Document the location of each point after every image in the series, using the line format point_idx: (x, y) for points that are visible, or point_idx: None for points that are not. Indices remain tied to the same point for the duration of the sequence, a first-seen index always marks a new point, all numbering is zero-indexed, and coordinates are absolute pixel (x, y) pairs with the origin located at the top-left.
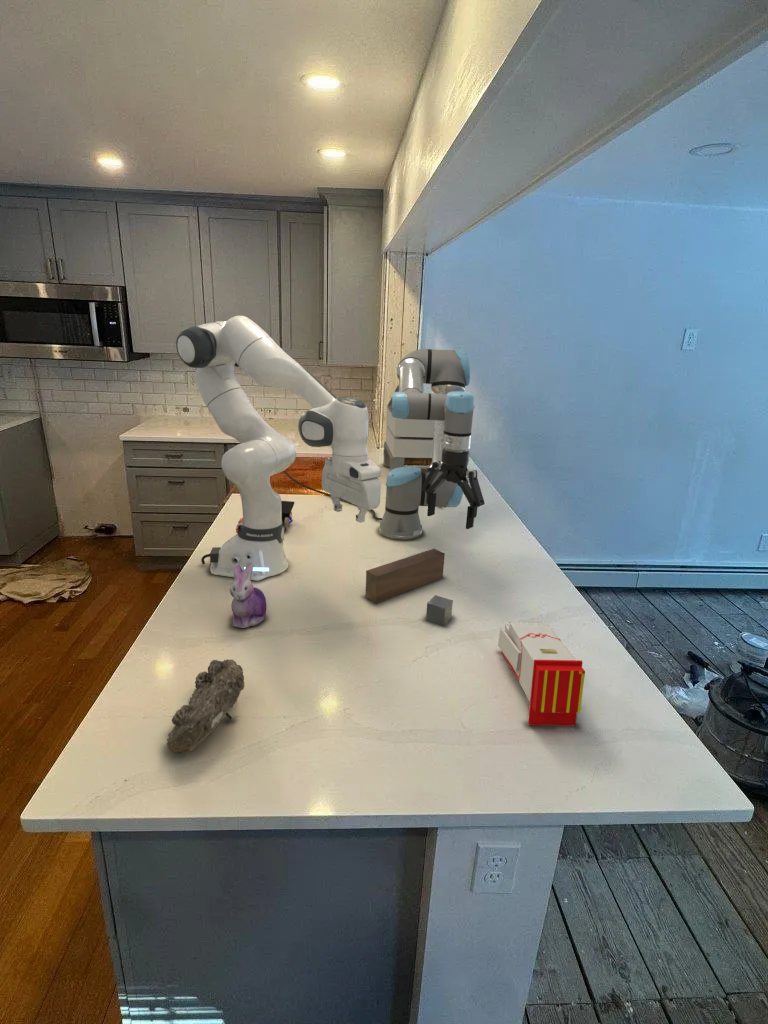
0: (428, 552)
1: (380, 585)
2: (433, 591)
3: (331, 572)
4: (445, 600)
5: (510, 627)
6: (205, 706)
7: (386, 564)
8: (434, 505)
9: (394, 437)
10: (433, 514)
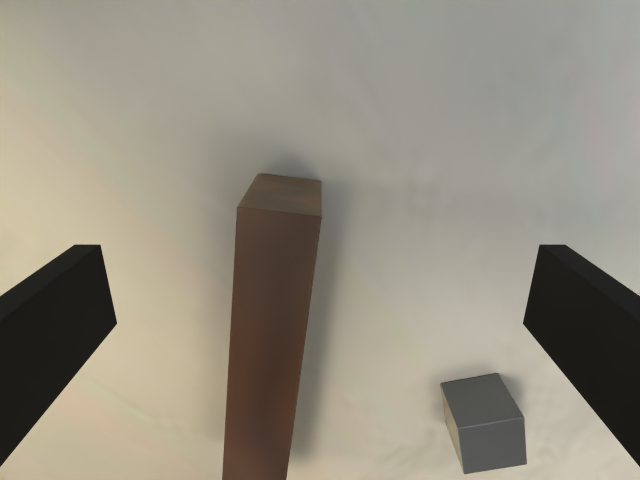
0: (255, 269)
1: None
2: (362, 290)
3: (42, 415)
4: (504, 433)
5: None
6: None
7: (226, 467)
8: (42, 311)
9: None
10: (103, 267)
